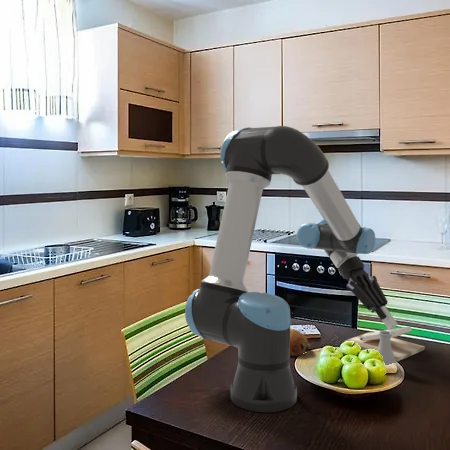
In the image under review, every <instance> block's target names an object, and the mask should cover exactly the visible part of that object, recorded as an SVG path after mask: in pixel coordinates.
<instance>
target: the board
mask: <svg viewBox="0 0 450 450" xmlns="http://www.w3.org/2000/svg"><path fill="white" fill-rule="evenodd" d="M374 332H375V331H369V332H367V333H366V332H365V333H364V334H360V335H357V336H354V337H350V338H348V339H346V340H343V343H344V342H345V341H354V342H357V343H358V344H359V345H360V346H361V348H362V349H376V350H378V347H379V343H380V339H377V340H369V341H362V340H360V338H361V337H362V336H365V335H368V334H371V333H374ZM390 341H391V347H392V351H393V354H394V357H395V360H396V362H400V361H402V360H405V359H407V358H409V357H411V356H413V355H415V354H418V353H420V352H423V351H425V348H426V347H425V346H424V345H420V344H417V343H414V342H413V343H412V342H409V341H407V340H404V339H399V338H397V337H391V340H390Z"/></svg>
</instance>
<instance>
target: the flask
mask: <svg viewBox="0 0 450 450" xmlns="http://www.w3.org/2000/svg"><path fill="white" fill-rule="evenodd" d="M379 331H380V332H379V335H380V343H379V347H378V350H377V351H378V352H379V353H380V354H381V355H382V356H383V361H384V363H385V365H389V364H392V363H395V362H396V363H397V361H396V360H395V357H394V354H393V351H392V347H391V341H390V340H391V335H392V333H391V332H389V331H383V330H379Z"/></svg>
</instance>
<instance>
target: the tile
mask: <svg viewBox="0 0 450 450" xmlns="http://www.w3.org/2000/svg"><path fill="white" fill-rule="evenodd" d="M380 331H381V330H378V331H373V332H374V333H371V334H368V335H365V336H362V337H361V338H360V340H362V341H369V340H377V339H380V335H379V332H380ZM382 331H389V332H391V333H392V335H391V337H393V338H397V337H400V336H402V335H406V334H408V333H410V332H412V327H411V326H405V327H403V326H402V327H397V328H393V329H391V330H388V329H385V330H382Z"/></svg>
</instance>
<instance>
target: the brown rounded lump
mask: <svg viewBox="0 0 450 450" xmlns="http://www.w3.org/2000/svg"><path fill="white" fill-rule="evenodd" d="M309 347H311V344H310V343H309V341H308V338H307V337H306V336H305V335H304V334H303V333H302V332H301V331H299V330H297V329H296V328H295V329H294V328H290V357H298V356H299V355H300V356H302V355H301V354H303V353H305V352H307V353H308V352H309ZM305 354H306V353H305ZM303 355H304V354H303Z"/></svg>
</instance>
